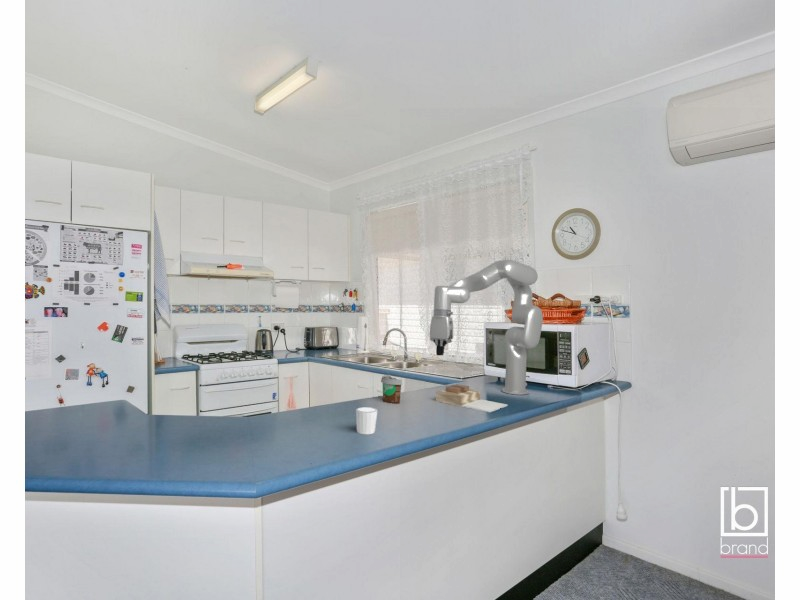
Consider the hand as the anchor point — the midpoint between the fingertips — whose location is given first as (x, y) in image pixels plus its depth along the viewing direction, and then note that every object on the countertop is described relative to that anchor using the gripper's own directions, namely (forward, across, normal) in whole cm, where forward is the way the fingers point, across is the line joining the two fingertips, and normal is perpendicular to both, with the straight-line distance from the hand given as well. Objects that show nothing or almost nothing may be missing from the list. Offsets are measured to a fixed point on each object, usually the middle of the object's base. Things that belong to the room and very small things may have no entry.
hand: (439, 355), depth 194 cm
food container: (+19, +9, +24) cm, 32 cm away
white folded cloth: (+18, -23, 0) cm, 29 cm away
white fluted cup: (+19, -13, +61) cm, 65 cm away
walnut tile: (+13, -10, 0) cm, 17 cm away
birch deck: (+18, -10, 0) cm, 21 cm away
